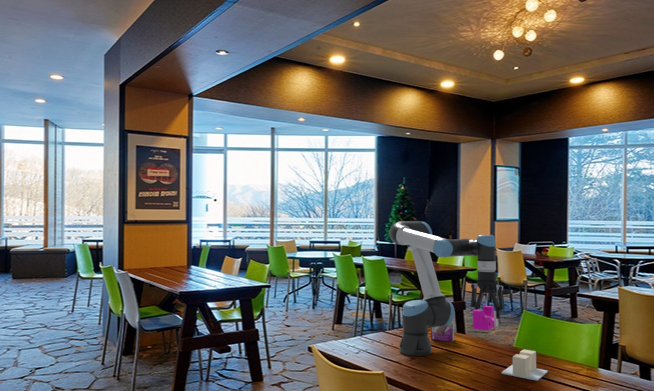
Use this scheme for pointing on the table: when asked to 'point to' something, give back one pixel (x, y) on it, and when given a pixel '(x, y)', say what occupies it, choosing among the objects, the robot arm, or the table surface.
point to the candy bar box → (443, 332)
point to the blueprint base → (531, 376)
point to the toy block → (483, 318)
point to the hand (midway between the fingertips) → (487, 325)
